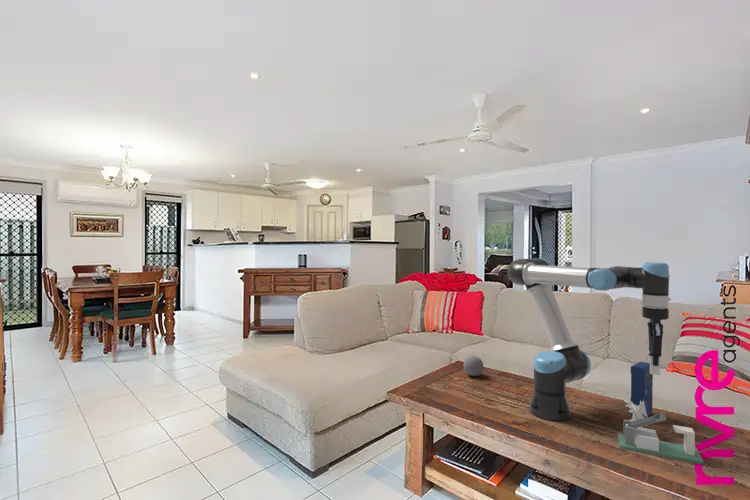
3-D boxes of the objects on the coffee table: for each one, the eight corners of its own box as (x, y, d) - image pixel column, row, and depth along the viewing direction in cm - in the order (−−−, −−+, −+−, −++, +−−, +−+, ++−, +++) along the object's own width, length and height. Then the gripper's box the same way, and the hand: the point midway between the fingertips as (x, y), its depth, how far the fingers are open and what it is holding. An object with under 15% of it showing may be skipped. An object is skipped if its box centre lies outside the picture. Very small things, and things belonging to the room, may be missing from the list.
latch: (674, 452, 127) (675, 429, 127) (672, 446, 131) (672, 424, 130) (694, 455, 125) (694, 433, 125) (691, 450, 128) (691, 428, 128)
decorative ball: (464, 378, 199) (464, 358, 199) (463, 371, 209) (462, 353, 208) (484, 379, 197) (484, 359, 197) (482, 372, 207) (482, 353, 207)
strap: (627, 432, 133) (624, 426, 133) (626, 427, 137) (623, 421, 137) (668, 421, 128) (664, 416, 128) (665, 416, 131) (662, 411, 132)
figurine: (629, 422, 150) (630, 391, 150) (653, 430, 144) (653, 397, 144) (617, 430, 144) (617, 398, 143) (641, 439, 138) (641, 405, 137)
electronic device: (644, 420, 151) (644, 368, 151) (629, 416, 155) (629, 365, 155) (653, 413, 157) (654, 363, 157) (638, 409, 161) (639, 360, 161)
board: (620, 447, 132) (620, 427, 132) (617, 435, 140) (617, 416, 140) (703, 464, 122) (704, 442, 122) (696, 450, 130) (696, 430, 130)
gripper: (672, 310, 130) (671, 381, 131) (664, 304, 142) (664, 369, 143) (645, 309, 134) (644, 378, 134) (639, 303, 146) (639, 367, 146)
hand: (654, 373), depth 139 cm, fingers closed
